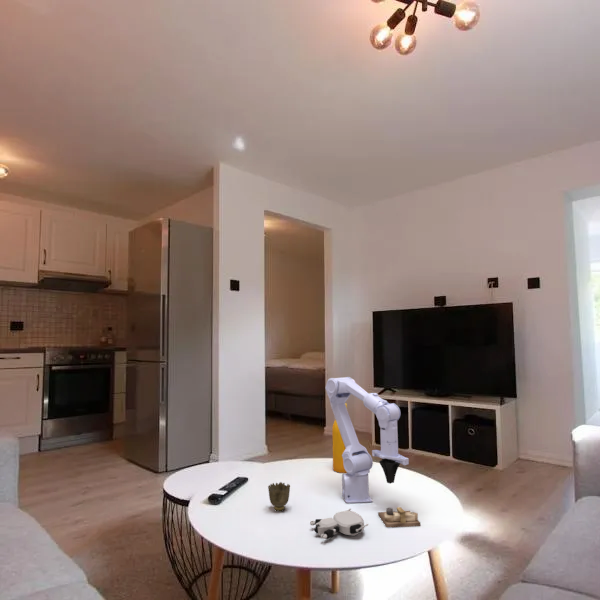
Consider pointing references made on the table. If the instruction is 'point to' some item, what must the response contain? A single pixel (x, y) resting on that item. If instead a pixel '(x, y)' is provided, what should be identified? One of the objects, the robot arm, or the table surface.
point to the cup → (279, 495)
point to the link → (396, 517)
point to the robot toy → (339, 524)
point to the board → (397, 523)
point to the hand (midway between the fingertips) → (390, 482)
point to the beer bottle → (338, 448)
